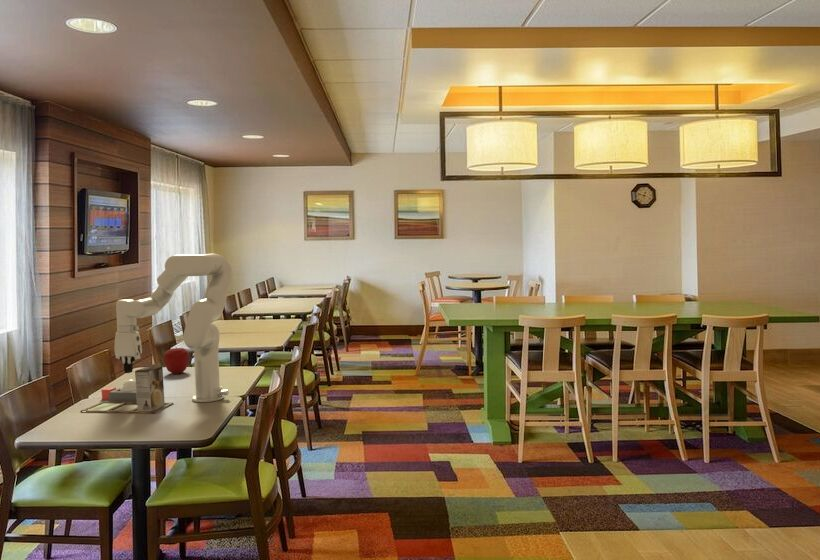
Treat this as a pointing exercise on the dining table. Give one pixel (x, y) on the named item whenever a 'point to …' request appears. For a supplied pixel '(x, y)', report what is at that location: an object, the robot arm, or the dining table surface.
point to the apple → (176, 360)
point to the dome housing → (122, 396)
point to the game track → (113, 405)
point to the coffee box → (149, 388)
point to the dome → (129, 386)
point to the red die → (107, 392)
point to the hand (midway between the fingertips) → (128, 372)
